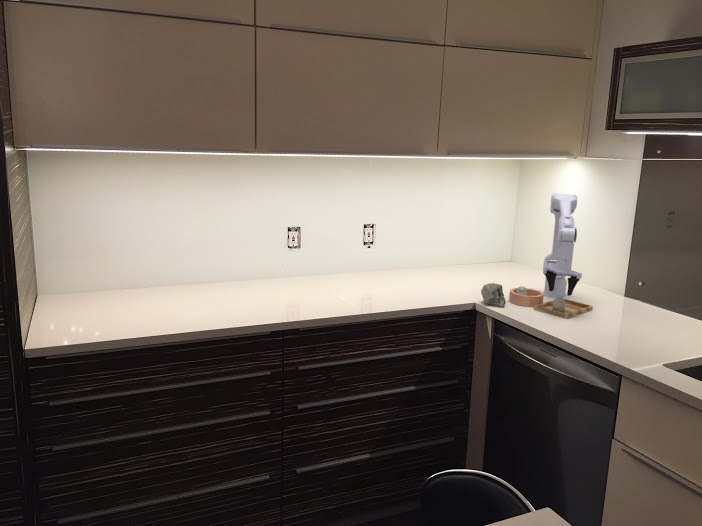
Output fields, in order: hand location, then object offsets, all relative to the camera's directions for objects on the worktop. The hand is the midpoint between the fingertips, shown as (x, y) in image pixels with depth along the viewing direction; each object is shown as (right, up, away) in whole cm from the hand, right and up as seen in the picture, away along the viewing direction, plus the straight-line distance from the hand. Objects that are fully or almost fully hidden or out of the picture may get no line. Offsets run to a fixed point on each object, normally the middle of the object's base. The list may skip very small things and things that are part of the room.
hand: (560, 293), depth 234 cm
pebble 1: (-11, -4, +15) cm, 19 cm away
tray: (+3, -7, +4) cm, 9 cm away
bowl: (-10, -5, +13) cm, 17 cm away
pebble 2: (0, -7, +2) cm, 8 cm away
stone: (-24, -5, +10) cm, 26 cm away
